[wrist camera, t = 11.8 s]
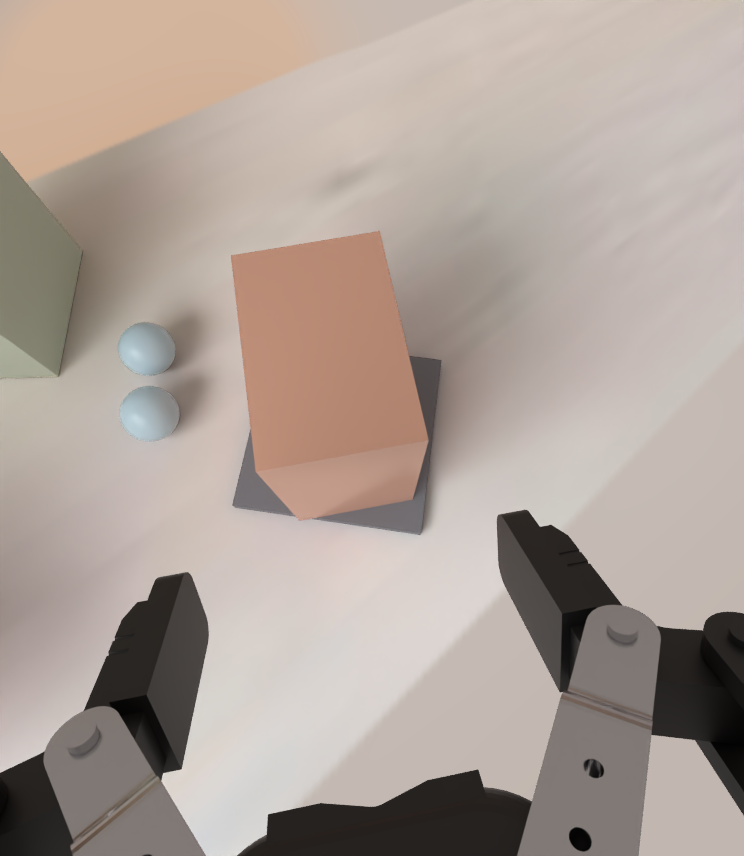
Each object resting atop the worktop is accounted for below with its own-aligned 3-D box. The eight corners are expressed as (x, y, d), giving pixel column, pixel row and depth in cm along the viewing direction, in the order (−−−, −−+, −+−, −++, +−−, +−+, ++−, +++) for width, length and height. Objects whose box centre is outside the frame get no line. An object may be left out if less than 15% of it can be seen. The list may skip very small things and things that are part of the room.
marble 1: (126, 380, 31) (100, 357, 28) (141, 336, 32) (117, 309, 29) (175, 387, 30) (154, 364, 28) (189, 342, 31) (169, 315, 29)
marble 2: (128, 444, 29) (101, 426, 26) (143, 396, 30) (119, 373, 27) (179, 451, 29) (157, 434, 26) (193, 402, 30) (173, 380, 27)
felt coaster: (235, 507, 28) (232, 505, 27) (274, 343, 31) (272, 338, 31) (420, 534, 27) (421, 533, 27) (440, 364, 31) (441, 360, 30)
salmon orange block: (412, 499, 27) (428, 440, 18) (299, 521, 27) (255, 471, 18) (380, 349, 30) (379, 231, 21) (278, 367, 30) (230, 255, 21)
